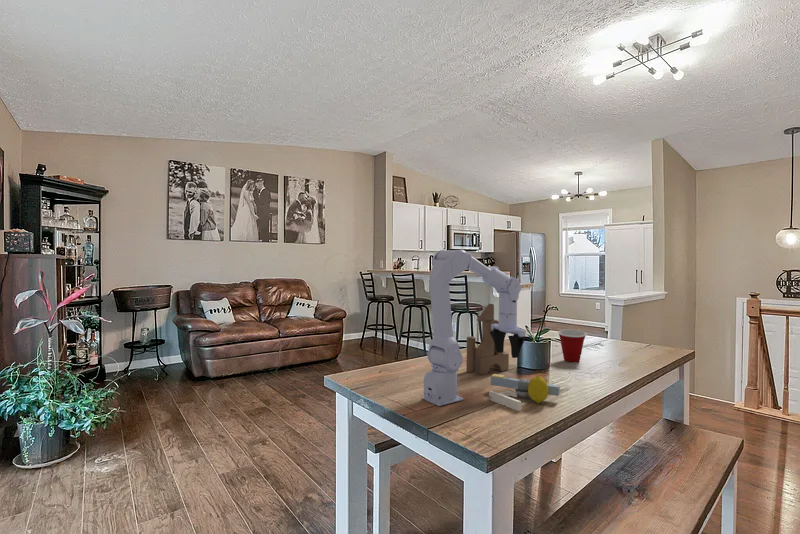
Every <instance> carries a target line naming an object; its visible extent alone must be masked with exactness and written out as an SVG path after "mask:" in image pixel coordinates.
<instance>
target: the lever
mask: <svg viewBox="0 0 800 534" xmlns="http://www.w3.org/2000/svg"><path fill="white" fill-rule="evenodd" d="M529 382H530V380H529V379H525V378H524V379H523V378H521V379H518V378H513V377H506V375H504V374H497V373H493V374H492V375H491V376H490V386H497V387H501V388H509V389H513V390H515V389H518V390H521V391H528V385H529ZM547 385H548V395H550V396H556V397H559V396H560V393H561V392H560V391H561V390H560V389H561V387H560V385H558V384H553V383H552V384H551V383H547Z"/></svg>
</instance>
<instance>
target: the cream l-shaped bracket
mask: <svg viewBox="0 0 800 534" xmlns="http://www.w3.org/2000/svg"><path fill="white" fill-rule="evenodd" d="M510 396H511V397H510ZM513 397H514V398H513ZM516 398H518V397H517V392H515V391H513V390H511V389H509V390H505V391H501V392H496V391H495V390H494V391H493V390H488V400H489V401H491V402H495V403H496V404H500V405H501V406H504V405H505V406H504V407H507V408H509V409H512V410H515V411H516V412H521V411H522V401H521V400H519V399H516Z"/></svg>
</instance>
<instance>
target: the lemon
mask: <svg viewBox="0 0 800 534" xmlns="http://www.w3.org/2000/svg"><path fill="white" fill-rule="evenodd" d="M529 381H530V382H529V385H528V393H529V396H530V398H529V399H530V400H532V401H534V402H536V404H538V405H539V404H540V403H541V402H544V401H545V400H546V399H547V398H548V395H549V394H548V385H547V384H548V383H547V381H546V380H545V378H543V377H541V376H540V375H536V376H534V377H532V378H530V380H529Z"/></svg>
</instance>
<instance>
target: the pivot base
mask: <svg viewBox="0 0 800 534" xmlns="http://www.w3.org/2000/svg"><path fill="white" fill-rule="evenodd" d="M514 390H515V391H514V392H517V397H516V398H519V399H524V400H525V399H526V400H527V399H529V400H530V399H531V398H530V396H529V393H528V391H521V390H518V389H514Z"/></svg>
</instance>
